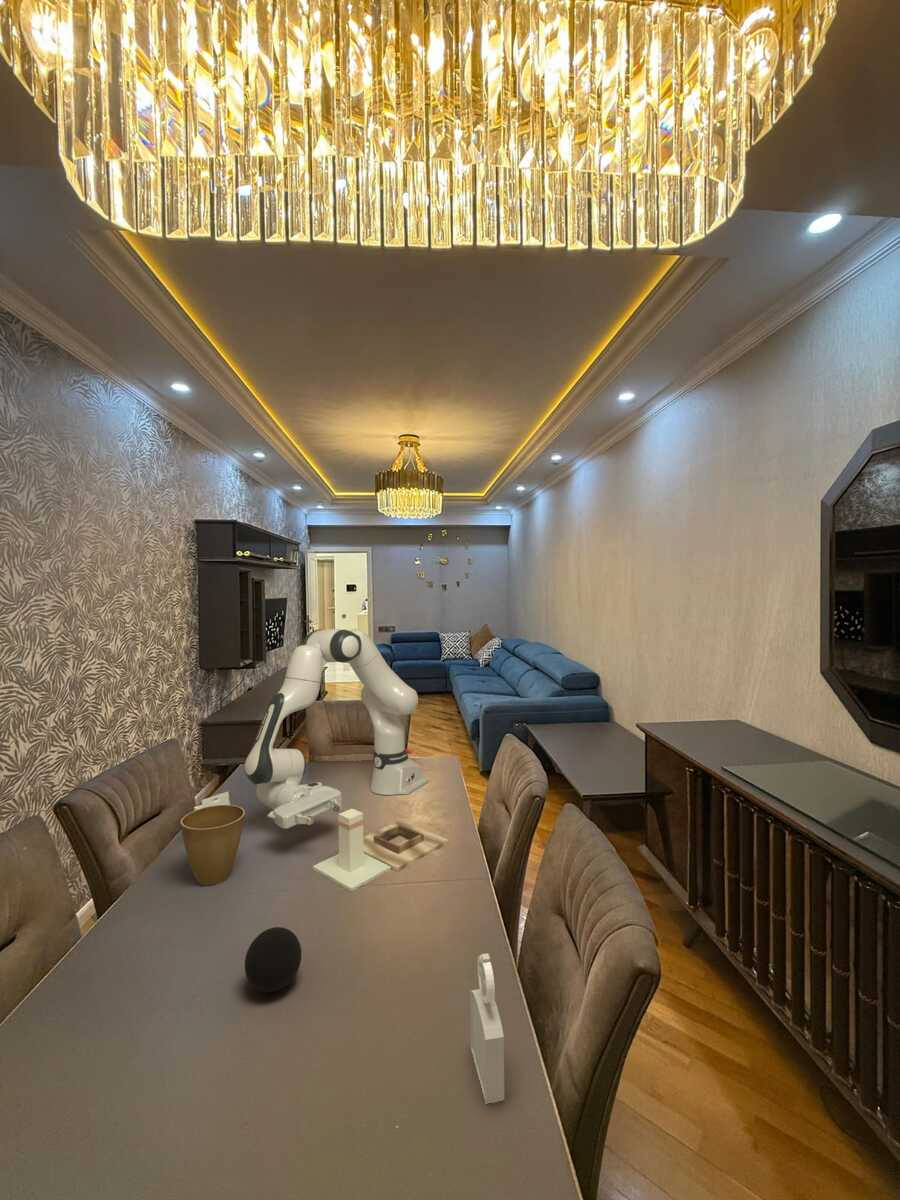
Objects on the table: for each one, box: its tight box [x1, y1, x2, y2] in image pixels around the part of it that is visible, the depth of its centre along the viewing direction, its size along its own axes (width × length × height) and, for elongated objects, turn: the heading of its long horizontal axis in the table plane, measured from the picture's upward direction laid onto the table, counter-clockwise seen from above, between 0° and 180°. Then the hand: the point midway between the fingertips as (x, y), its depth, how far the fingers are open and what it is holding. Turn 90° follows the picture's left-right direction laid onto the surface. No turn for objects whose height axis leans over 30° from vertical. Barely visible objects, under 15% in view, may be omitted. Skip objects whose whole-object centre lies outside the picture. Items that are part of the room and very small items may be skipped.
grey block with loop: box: [469, 953, 505, 1105], centre depth 80 cm, size 3×9×18 cm, turn 11°
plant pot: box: [180, 804, 246, 886], centre depth 135 cm, size 15×15×16 cm
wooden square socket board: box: [363, 819, 449, 872], centre depth 151 cm, size 20×20×3 cm
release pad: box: [312, 853, 392, 892], centre depth 139 cm, size 13×16×1 cm
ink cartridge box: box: [193, 791, 231, 811], centre depth 153 cm, size 9×5×15 cm, turn 143°
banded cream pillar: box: [337, 808, 365, 873], centre depth 138 cm, size 5×5×14 cm
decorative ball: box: [244, 926, 302, 993], centre depth 98 cm, size 10×10×10 cm
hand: (326, 814), depth 147 cm, fingers open, 8 cm apart
